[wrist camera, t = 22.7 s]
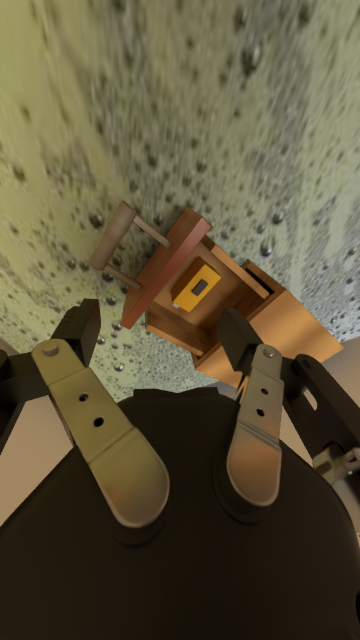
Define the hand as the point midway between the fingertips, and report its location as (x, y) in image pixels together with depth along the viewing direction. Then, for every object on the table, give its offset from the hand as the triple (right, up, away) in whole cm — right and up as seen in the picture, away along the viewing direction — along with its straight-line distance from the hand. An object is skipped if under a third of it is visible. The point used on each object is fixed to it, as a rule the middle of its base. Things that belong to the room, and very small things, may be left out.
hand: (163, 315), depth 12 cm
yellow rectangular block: (+3, +5, +13) cm, 14 cm away
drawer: (+1, +6, +13) cm, 14 cm away
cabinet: (+12, 0, +21) cm, 24 cm away
